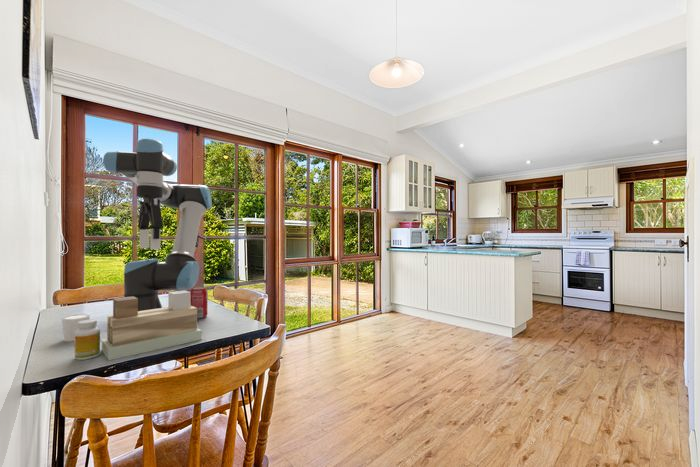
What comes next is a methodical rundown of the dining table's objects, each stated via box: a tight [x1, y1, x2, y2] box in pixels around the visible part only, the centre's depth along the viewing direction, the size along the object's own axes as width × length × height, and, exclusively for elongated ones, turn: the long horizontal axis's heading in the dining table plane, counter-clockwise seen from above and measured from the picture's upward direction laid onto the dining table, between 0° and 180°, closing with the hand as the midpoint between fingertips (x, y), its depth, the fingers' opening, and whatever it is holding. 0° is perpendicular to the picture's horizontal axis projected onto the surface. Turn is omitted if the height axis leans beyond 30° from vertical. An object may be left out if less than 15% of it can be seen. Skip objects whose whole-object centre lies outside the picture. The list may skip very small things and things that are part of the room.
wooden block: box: [106, 306, 198, 347], centre depth 98 cm, size 8×22×7 cm, turn 136°
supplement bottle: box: [74, 319, 101, 361], centre depth 88 cm, size 5×5×10 cm
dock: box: [101, 327, 203, 361], centre depth 98 cm, size 11×24×3 cm, turn 136°
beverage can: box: [190, 286, 209, 320], centre depth 130 cm, size 6×6×12 cm
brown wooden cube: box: [112, 296, 138, 319], centre depth 93 cm, size 5×5×5 cm
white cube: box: [167, 289, 191, 310], centre depth 103 cm, size 5×5×5 cm
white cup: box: [61, 314, 91, 342], centre depth 104 cm, size 7×7×7 cm
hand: (149, 248), depth 109 cm, fingers open, 13 cm apart
